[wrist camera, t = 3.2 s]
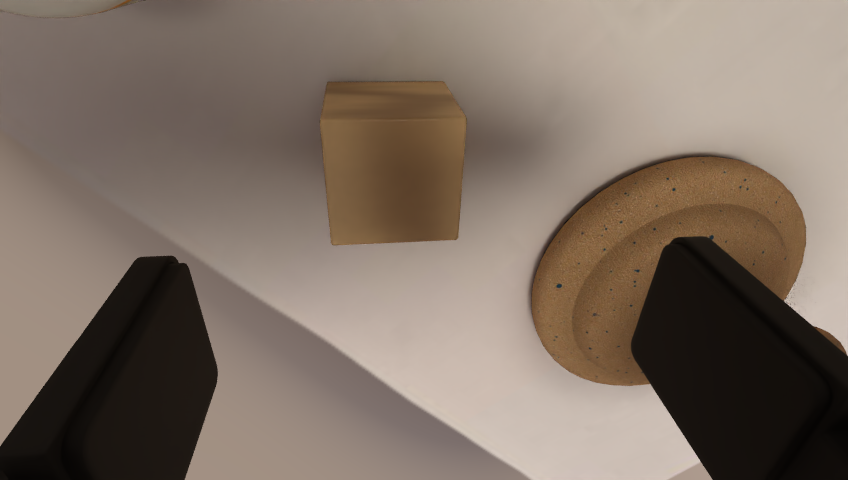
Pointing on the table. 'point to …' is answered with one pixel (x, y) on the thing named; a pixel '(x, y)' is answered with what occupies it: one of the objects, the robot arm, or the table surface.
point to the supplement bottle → (61, 7)
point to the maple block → (392, 161)
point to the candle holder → (656, 255)
